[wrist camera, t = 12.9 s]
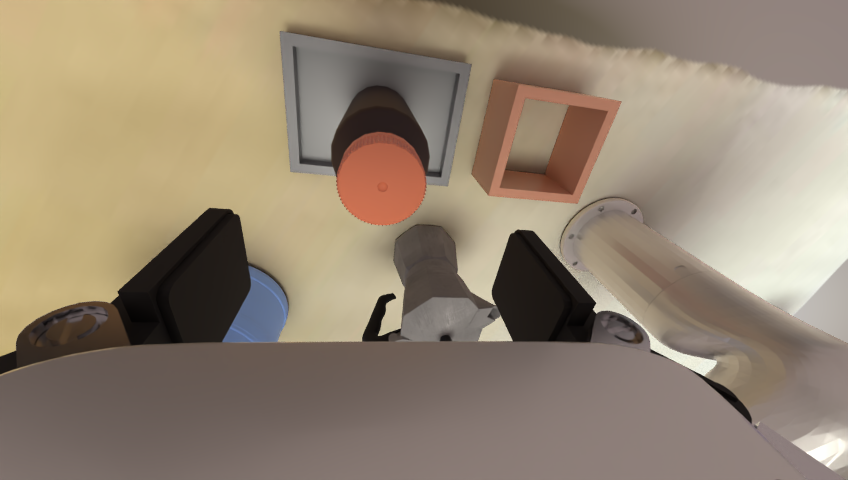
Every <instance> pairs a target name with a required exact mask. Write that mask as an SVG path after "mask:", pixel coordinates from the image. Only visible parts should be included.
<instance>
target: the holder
mask: <svg viewBox="0 0 848 480" xmlns="http://www.w3.org/2000/svg"><path fill="white" fill-rule="evenodd" d="M525 98H528V99H535V100H541V101H548V102H554V103H560V104H567V105H569V107H568V110H567V113H566V115H565V118H564V121H563V124H562V127H561V129H560V132H559V135H558V138H557V141H556V143H555V146H554V149H553V152H552V155H551V157H550V160H549V163H548V166H547V169H546V171H545V174H537V173H528V172H518V171H509V170H505V167H506V164H507V160H508V157H509V153H510V150H511V146H512V143H513V139H514V136H515V132H516V129H517V125H518V122H519V118H520V115H521V111H522V108H523V104H524V101H525ZM620 104H621V101H616V100H611V99H606V98H601V97H596V96H591V95H586V94H581V93H575V92H569V91H563V90H557V89H551V88H545V87H539V86H533V85H527V84H521V83H515V82H509V81H503V80H497V79H494V80H493V84H492V89H491V93H490V97H489V102H488V106H487V110H486V115H485V119H484V123H483V127H482V132H481V136H480V140H479V145H478V149H477V153H476V158H475V162H474V166H473V170H472V175H473V177H474V178H475V179H476V180H477V182H478V183H479V184H480V186H481V187H482V188H483V189H484V191H485V192H486V193H487V194H488V196H497V197H508V198H520V199H531V200H542V201H554V202H565V203H576V204H577V203H578V201H579V199H580V196H581V194H582V192H583V189H584V187H585V185H586V183H587V180H588V178H589V176H590V173H591V171H592V169H593V166H594V164H595V162H596V160H597V157H598V155H599V153H600V150H601V148H602V146H603V143H604V141H605V139H606V137H607V134H608V132H609V130H610V127H611V125H612V123H613V120H614V118H615V116H616V114H617V111H618V109H619V107H620Z"/></svg>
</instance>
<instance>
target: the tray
mask: <svg viewBox="0 0 848 480" xmlns="http://www.w3.org/2000/svg"><path fill="white" fill-rule="evenodd" d="M280 42H281V55H282V68H283V81H284V94H285V107H286V120H287V133H288V146H289V159H290V172H298V173H309V174H320V175H331V176H336V174H335V171H334V168H333V166H332V163H331V144H332V141H333V138H334V135H335V132H336V129H337V128H338V126H339V124H340V122H341V120H342V118H343V116H344V114H345V113H346V111H347V109H348V107H349V105H350V103H351V101H352V100H353V99H354V97H355V96H356V95H357V94H358V93H359V92H360V91H362V90H364V89H365V88H367V87H371V86H376V85H378V86H385V87H388V88H390V89H392V90H394V91H396V92H397V93H398V94H399V95H400V96H401V97H402V98H403V99H404V100H405V102H406V103H407V105H408V107H409V108H410V110H411V112H412V114H413V115H414V117H415V119H416V120H417V122H418V124H419V125H420V127H421V129H422V131H423V133H424V135H425V137H426V139H427V141H428V147H429V153H430V160H429V166H428V172H427V174H426V183H427V184H428V185H439V186H448V183H449V178H450V173H451V168H452V163H453V158H454V152H455V147H456V142H457V137H458V132H459V127H460V122H461V117H462V112H463V106H464V101H465V96H466V91H467V86H468V81H469V76H470V71H471V66H472V64H467V63H462V62H456V61H450V60H444V59H439V58H433V57H427V56H421V55H415V54H410V53H404V52H398V51H392V50H387V49H381V48H375V47H369V46H363V45H358V44H352V43H346V42H340V41H335V40H329V39H323V38H317V37H311V36H306V35H300V34H294V33H288V32H283V31H280Z"/></svg>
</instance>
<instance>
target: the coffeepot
mask: <svg viewBox="0 0 848 480" xmlns="http://www.w3.org/2000/svg"><path fill="white" fill-rule="evenodd" d="M393 261H394V263H395V266H396V268H397V271H398V274H399V276H400V279H401V281H402V284H403V286H404V287H405V291H404V300H403V311H402V323H401V329H398V330H395V331H392V332H389V333H387V334H385V335H382V336H378V334H379V331H380V328H381V321H382V319H383V317H384V315H385V312H386V303H388V302H389V301H391V300H393V299H396V296H395V295H394V294H393V293H391V294H386V295H383V296H380V297H379V299H378V301H377V303H376V306H375V308H374V310H373V313H372V315H371V318H370V320H369V322H368V325H367V327H366V329H365V331H364V334H363V337H362V342H424V341H478V340H479V337H480V334H481V331H482V328H484V327H486V326H487V325H489V324H491V323H492V322H494V321H495V319H497V318H499V317H500V312H499V310H498V308H497V306H496V305H493V304H491V303H489V302H487V301H485V300H484V299H482V298H480V297H478V296H476V295H475V294H473V293H471V292H470V290H469V289H468V287H467V286H466V284H465V283H464V281H463V280H462V279H461V277H460V276H459V275H458V274H457V271H458V268H457V258H456V248H455V243H454V241H453V240H452V239H451V238H450V236H449V235H448V234H447V233H446V232H445V231H444V230H443V228H442V227H439V226H432V225H415V226H414V227H412V228H411V229H409V230H407V231H406V232H404V233H403V234H402V235H401V236H400V237H399V238H398V239H396V243H395V251H394V260H393Z"/></svg>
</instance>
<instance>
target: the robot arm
mask: <svg viewBox="0 0 848 480" xmlns="http://www.w3.org/2000/svg"><path fill="white" fill-rule="evenodd" d="M560 249H561V254H562V256H563V258H564V260H565V261H566V262H567V263H568V264H569V265H570V266H571V267H572V268H574V269H576V270H580V271H590V272H591V273H592V274H593V275H594V276H595V277H596V278H597V279H598V280H599V281H600V282H601V283H602V284H603V286H604V287H605V288H606V289H607V290H608V291H609V292H610V293H611V294H612V295H613V296H614V297H615V298H616V299H617V300H618V301H619V302H620V303H621V304H622V305H623V306H624V307H625V308H626V309H627V310H628V311H629V312H630V313H631V314H632V315H633V316H634V317H635V318H636V319H637V320H638V321H639V322H640V323H641V324H642V325H643V326H644V327H645V328H646V329H647V330H648V331H649V332H650V333H651V334H652V335H653V336H654V337H655V338H656V339H657V340H658V341H659V342H661V343H662V344H663V345H665V346H667V347H668V348H670V349H672V350H675V351H677V352H680V353H683V354H687V355H691V356H696V357H701V358H706V359H711V360H717V364H716V366H715V367H714V368H713V369H712V370H710V371H709V372H708V373H707V374H706V375H705V376H702V375H700V374H699V373H697V372H695V371H693V370H691V369H689V368H687V367H685V366H683V365H681V364H679V363H677V362H675V361H673V360H671V359H669V358H667V357H665V356H663V355H661V354H659V353H657V352H655V351H653V350H651V349H650V340H649V336H648V335H647V333H646V332H645V330H644V329H643V328H642V327H641V326H639V325H638V324H637V323H636V322H634V321H633V320H631V319H630V318H628V317H626V316H624V315H622V314H619V313H616V312H612V311H600V312H598V313H597V314H596V313H595V312H594V310H593V308H594V306H595V305H596V302H595V301H594V300H593V299H592V297H591V296H590V295H589V294H588V293H587V292H586V291H585V289H584V288H583V287H582V286H581V285H580V284H579V283H578V281H577V280H576V279H575V278H574V277H573V276H572V275H571V273H570V272H569V271H568V270H567V269H566V268H565V267H564V265H563V264H562V263H561V262H560V261H559V260H558V259H557V258H556V256H555V255H554V254H553V253H552V252H551V251H550V250H549V248H548V247H547V246H546V245H545V244H544V243H543V242H542V240H541V239H540V238H539V237H538V236H537V235H536V234H535V232H533V231H529V230H516V231H515V233H512V234H511V235H510V237H509V239H508V243H507V246H506V249H505V252H504V255H503V258H502V261H501V264H500V267H499V270H498V273H497V276H496V279H495V282H494V285H493V288H492V297H493V300H494V302H495V304H496V306H497V308H498V310H499V312H500V315H501V317H502V319H503V321H504V323H505V325H506V327H507V329H508V332H509V334H510V336H511V338H512V340H513V341H424V342H222V341H223V339H224V338H225V336H226V334H227V332H228V330H229V328H230V326H231V325H232V323H233V321H234V319H235V317H236V315H237V314H238V312H239V310H240V308H241V306H242V304H243V302H244V301H245V299H246V297H247V295H248V293H249V291H250V288H251V278H250V273H249V267H248V261H247V256H246V250H245V244H244V239H243V233H242V227H241V221H240V217H239V215H237V214H234V213H233V211H232V210H231V209H217V208H209V209H207V210H206V211H205V212H204V213H203V214H202V215H201V216H200V217H199V218H198V219H197V220H195V221H194V222H193V223H192V224H191V225H190V226H189V227H188V228H187V229H186V230H184V231H183V232H182V233H181V234H180V235H179V236H178V237H177V238H176V239H175V240H174V241H172V242H171V243H170V244H169V245H168V246H167V247H166V248H165V249H164V250H163V251H161V252H160V253H159V254H158V255H157V256H156V257H155V258H154V259H153V260H152V261H151V262H149V263H148V264H147V265H146V266H145V267H144V268H143V269H142V270H141V271H140V272H138V273H137V274H136V275H135V276H134V277H133V278H132V279H131V280H130V281H129V282H127V283H126V284H125V285H124V286H123V287H122V288H121V289H120V290H119V291H118V294H119V296H118V297H117V298H116V299H115V300H113V301H112V302H111V303H107V302H100V301H92V302H82V303H77V304H73V305H69V306H65V307H63V308H60V309H57V310H54V311H52V312H50V313H48V314H46V315H44V316H42V317H40V318H38V319H36V320H35V321H33V322H32V323H31V324H29V325H28V326H26V327H25V328H24V330H23V331H22V332H21V333H20V334H19V335H18V338H17V341H16V351H14V352H11V353H9V354H6V355H3V356H1V357H0V480H848V343H846V342H844V341H841V340H840V339H838V338H835V337H834V336H831V335H829V334H827V333H825V332H823V331H821V330H819V329H817V328H815V327H813V326H811V325H809V324H807V323H805V322H803V321H801V320H799V319H797V318H796V317H794V316H792V315H790V314H788V313H786V312H784V311H782V310H781V309H779V308H777V307H775V306H773V305H772V304H770V303H768V302H767V301H765V300H763V299H762V298H760V297H758V296H757V295H755V294H753V293H752V292H750V291H748V290H747V289H745V288H743V287H742V286H740V285H738V284H737V283H735V282H734V281H732V280H731V279H729V278H727V277H726V276H724V275H723V274H721V273H719V272H718V271H716V270H715V269H713V268H712V267H710V266H708V265H707V264H705V263H704V262H702V261H701V260H699V259H697V258H696V257H694V256H693V255H691V254H690V253H688V252H687V251H685V250H683V249H682V248H680V247H679V246H677V245H676V244H674V243H673V242H671V241H669V240H668V239H666V238H665V237H663V236H662V235H660V234H658V233H657V232H655V231H654V230H652V229H651V228H649V227H648V226H646V225H644V219H643V215H642V212H641V210H640V209H639V208H638V207H637V206H636V205H635V204H633V203H632V202H630V201H628V200H625V199H622V198H609V199H604V200H600V201H598V202H595V203H593V204H591V205H589V206H588V207H586V208H585V209H583V210H582V211H581V212H579V213H578V214H577V215H576V216H575V217H574V218H573V219H572V220H571V221H570V223H569V224H568V226H567V227H566V229H565V231H564V233H563V235H562V239H561V245H560Z"/></svg>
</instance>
